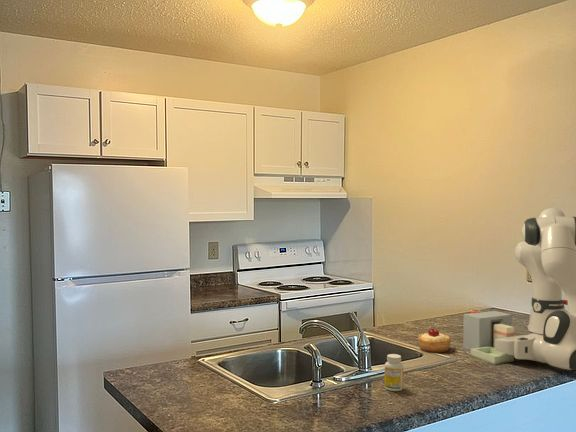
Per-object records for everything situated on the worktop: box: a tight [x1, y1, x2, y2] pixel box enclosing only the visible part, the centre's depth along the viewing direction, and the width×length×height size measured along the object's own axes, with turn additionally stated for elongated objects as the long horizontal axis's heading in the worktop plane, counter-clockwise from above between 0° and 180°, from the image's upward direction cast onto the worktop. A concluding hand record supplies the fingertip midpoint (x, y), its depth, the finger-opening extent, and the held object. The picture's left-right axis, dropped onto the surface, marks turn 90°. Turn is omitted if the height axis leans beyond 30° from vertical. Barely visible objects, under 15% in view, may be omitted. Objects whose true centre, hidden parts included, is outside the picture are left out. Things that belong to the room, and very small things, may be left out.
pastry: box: [417, 325, 452, 353], centre depth 201 cm, size 12×12×9 cm
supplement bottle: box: [384, 353, 404, 392], centre depth 158 cm, size 5×5×10 cm
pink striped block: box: [493, 324, 515, 348], centre depth 195 cm, size 4×6×10 cm, turn 25°
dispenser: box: [462, 310, 513, 351], centre depth 203 cm, size 16×8×13 cm, turn 115°
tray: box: [470, 346, 515, 365], centre depth 189 cm, size 9×11×2 cm
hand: (503, 338), depth 195 cm, fingers closed on pink striped block, 4 cm apart
